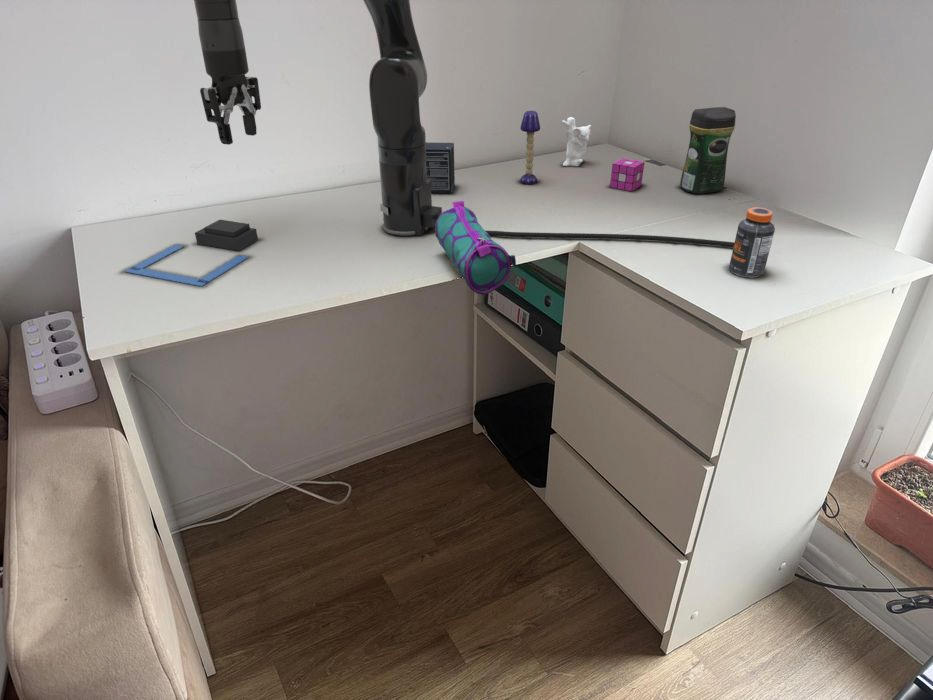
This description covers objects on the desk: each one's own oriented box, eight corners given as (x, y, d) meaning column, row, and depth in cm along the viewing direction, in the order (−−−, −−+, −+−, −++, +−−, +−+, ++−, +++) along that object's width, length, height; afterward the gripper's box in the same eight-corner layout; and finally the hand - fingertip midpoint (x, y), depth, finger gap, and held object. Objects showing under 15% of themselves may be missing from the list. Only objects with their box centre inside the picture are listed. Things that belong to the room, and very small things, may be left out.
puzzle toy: (619, 181, 163) (622, 158, 160) (641, 185, 160) (644, 161, 157) (609, 187, 159) (612, 163, 156) (631, 191, 156) (634, 167, 153)
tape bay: (248, 257, 124) (248, 256, 124) (201, 286, 114) (201, 285, 114) (175, 245, 129) (175, 244, 129) (124, 272, 119) (124, 271, 119)
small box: (455, 185, 160) (455, 141, 155) (452, 194, 155) (451, 148, 149) (412, 184, 161) (410, 140, 156) (407, 193, 156) (405, 147, 150)
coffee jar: (708, 182, 162) (723, 102, 152) (728, 192, 155) (745, 110, 146) (673, 185, 160) (686, 105, 150) (691, 196, 153) (706, 113, 143)
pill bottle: (723, 265, 121) (736, 205, 115) (754, 263, 121) (769, 204, 115) (737, 279, 116) (751, 217, 110) (769, 277, 116) (786, 216, 110)
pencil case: (515, 292, 111) (517, 239, 106) (465, 300, 109) (464, 245, 104) (477, 246, 128) (477, 198, 123) (433, 252, 126) (431, 203, 121)
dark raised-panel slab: (258, 240, 132) (255, 223, 130) (239, 251, 127) (236, 234, 125) (217, 233, 135) (213, 217, 133) (197, 244, 130) (193, 227, 128)
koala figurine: (561, 168, 172) (565, 121, 166) (554, 161, 178) (557, 115, 171) (592, 167, 173) (597, 119, 167) (584, 159, 179) (589, 113, 172)
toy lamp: (538, 185, 160) (542, 113, 152) (518, 185, 160) (521, 114, 152) (536, 179, 164) (540, 109, 156) (517, 179, 164) (520, 109, 156)
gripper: (214, 52, 113) (232, 150, 122) (264, 42, 124) (277, 132, 133) (178, 50, 115) (199, 146, 124) (231, 40, 127) (246, 129, 135)
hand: (239, 139), depth 129 cm, fingers open, 7 cm apart
